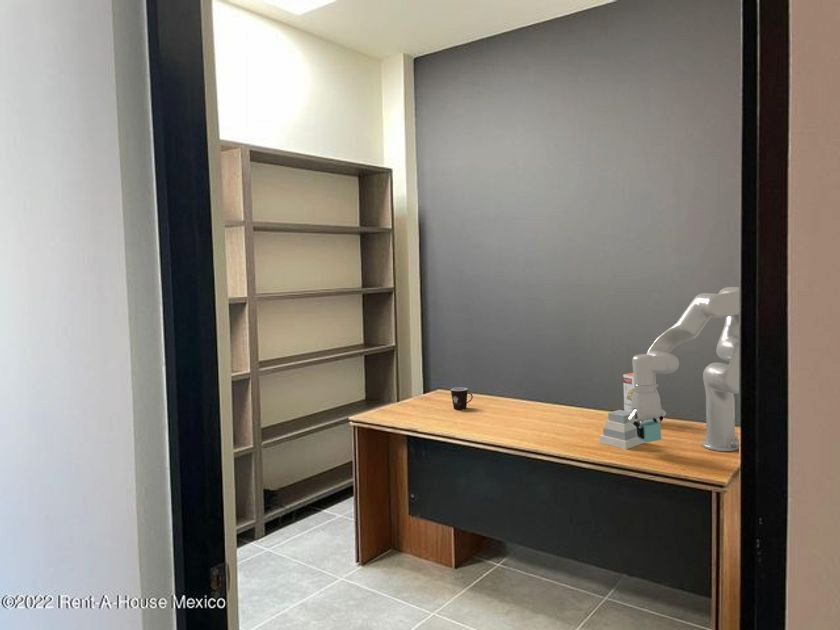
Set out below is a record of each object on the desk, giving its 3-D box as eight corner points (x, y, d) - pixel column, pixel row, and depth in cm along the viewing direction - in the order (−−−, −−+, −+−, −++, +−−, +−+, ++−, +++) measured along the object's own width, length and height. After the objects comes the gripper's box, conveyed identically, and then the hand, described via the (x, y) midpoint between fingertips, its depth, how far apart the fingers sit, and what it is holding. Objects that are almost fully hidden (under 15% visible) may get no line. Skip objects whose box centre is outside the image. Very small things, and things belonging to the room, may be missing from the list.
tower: (644, 442, 235) (644, 412, 234) (625, 449, 228) (624, 418, 227) (618, 436, 245) (618, 407, 244) (599, 442, 238) (598, 413, 237)
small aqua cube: (650, 435, 225) (649, 419, 225) (661, 439, 220) (660, 423, 219) (637, 438, 224) (635, 422, 223) (647, 442, 218) (645, 426, 218)
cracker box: (623, 420, 268) (622, 373, 266) (634, 418, 270) (632, 372, 268) (647, 427, 255) (646, 378, 253) (657, 425, 258) (656, 377, 256)
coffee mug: (448, 408, 307) (447, 388, 307) (463, 405, 311) (462, 386, 310) (459, 412, 297) (458, 392, 296) (474, 410, 301) (473, 390, 300)
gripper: (659, 382, 226) (662, 429, 227) (618, 390, 221) (622, 437, 223) (672, 386, 219) (675, 434, 220) (630, 394, 214) (634, 443, 216)
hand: (648, 435), depth 222 cm, fingers closed on small aqua cube, 6 cm apart
